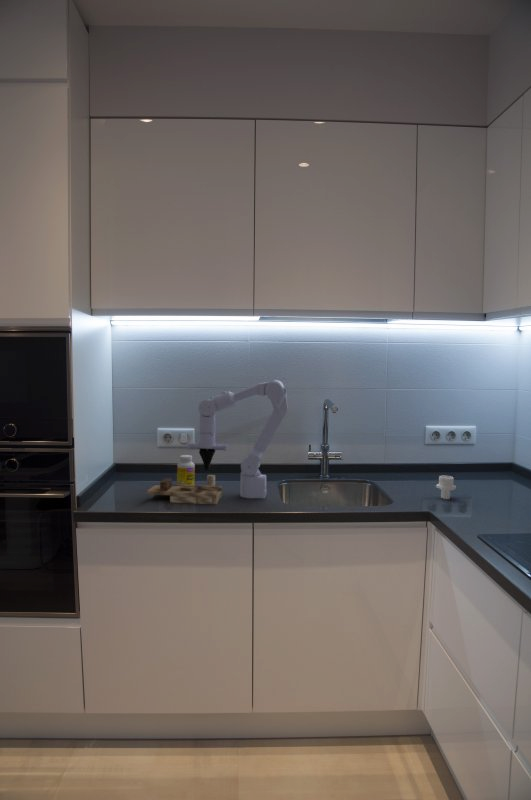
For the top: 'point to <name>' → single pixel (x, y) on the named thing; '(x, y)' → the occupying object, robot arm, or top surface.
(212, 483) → the pin
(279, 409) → the robot arm
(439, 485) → the pipe fitting
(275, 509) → the top surface
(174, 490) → the lid
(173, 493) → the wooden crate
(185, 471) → the supplement bottle
